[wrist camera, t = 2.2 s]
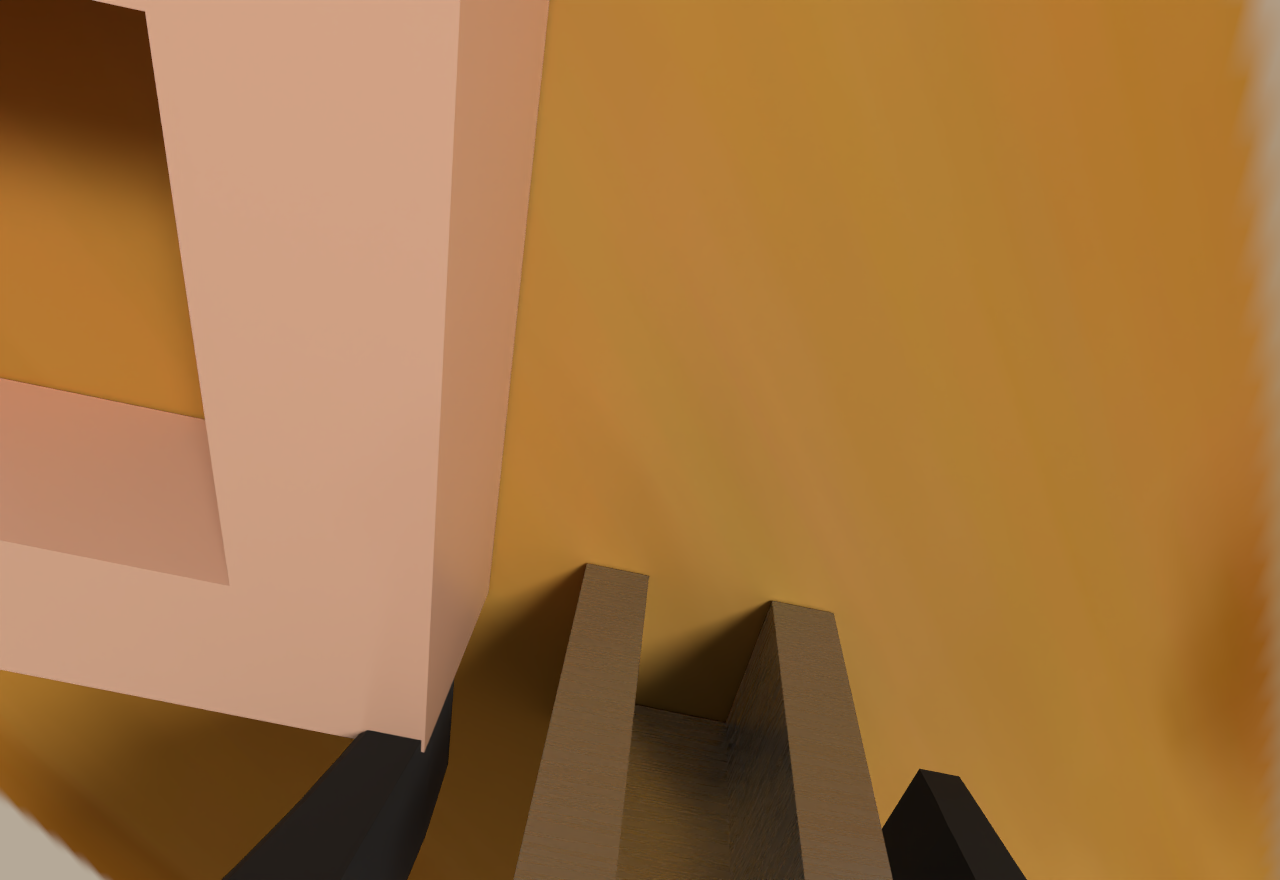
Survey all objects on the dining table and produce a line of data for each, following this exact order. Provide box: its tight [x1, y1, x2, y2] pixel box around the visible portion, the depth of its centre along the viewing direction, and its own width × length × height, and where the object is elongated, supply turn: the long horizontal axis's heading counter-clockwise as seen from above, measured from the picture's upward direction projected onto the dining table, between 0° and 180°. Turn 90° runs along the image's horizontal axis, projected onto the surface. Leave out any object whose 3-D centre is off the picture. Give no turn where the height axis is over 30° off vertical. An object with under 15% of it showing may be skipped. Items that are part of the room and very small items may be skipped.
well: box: [0, 0, 549, 752], centre depth 8 cm, size 10×10×3 cm
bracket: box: [513, 564, 893, 880], centre depth 9 cm, size 4×4×6 cm
